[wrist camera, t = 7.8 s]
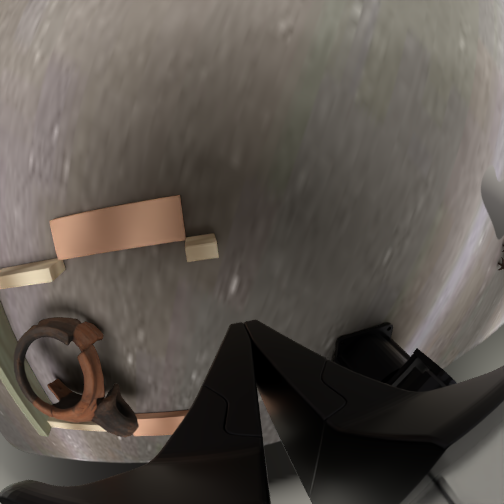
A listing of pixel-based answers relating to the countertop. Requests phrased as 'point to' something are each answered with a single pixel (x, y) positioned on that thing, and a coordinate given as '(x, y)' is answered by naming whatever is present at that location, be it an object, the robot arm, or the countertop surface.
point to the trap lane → (88, 243)
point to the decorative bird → (502, 263)
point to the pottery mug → (92, 401)
